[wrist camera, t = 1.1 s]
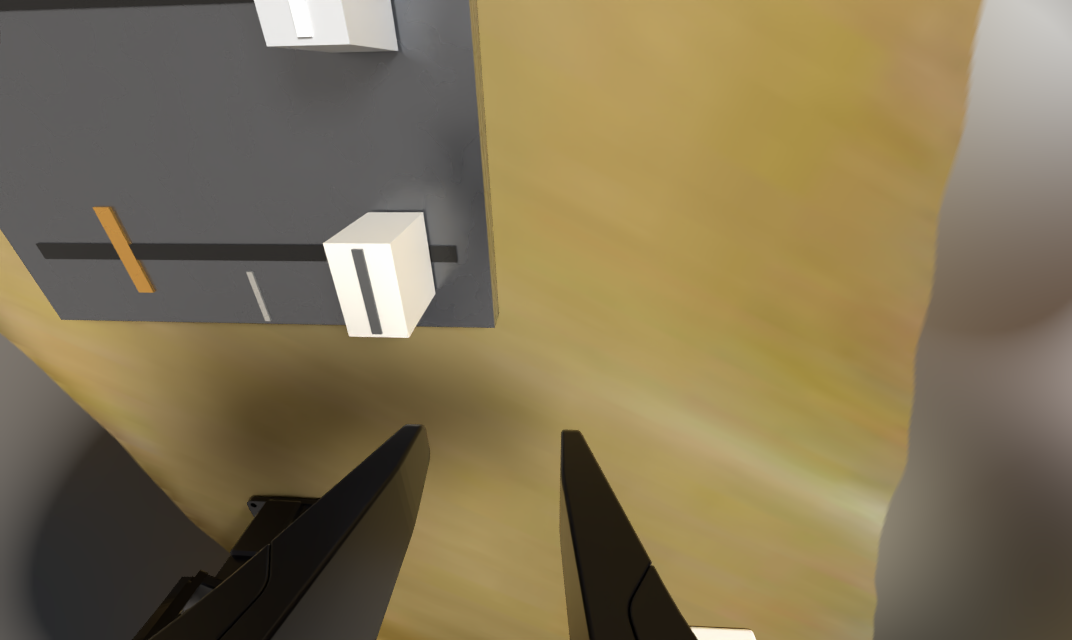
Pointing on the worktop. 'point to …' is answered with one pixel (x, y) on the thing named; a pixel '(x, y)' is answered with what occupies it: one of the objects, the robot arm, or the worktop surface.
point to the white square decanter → (722, 633)
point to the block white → (328, 25)
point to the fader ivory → (382, 273)
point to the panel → (235, 159)
